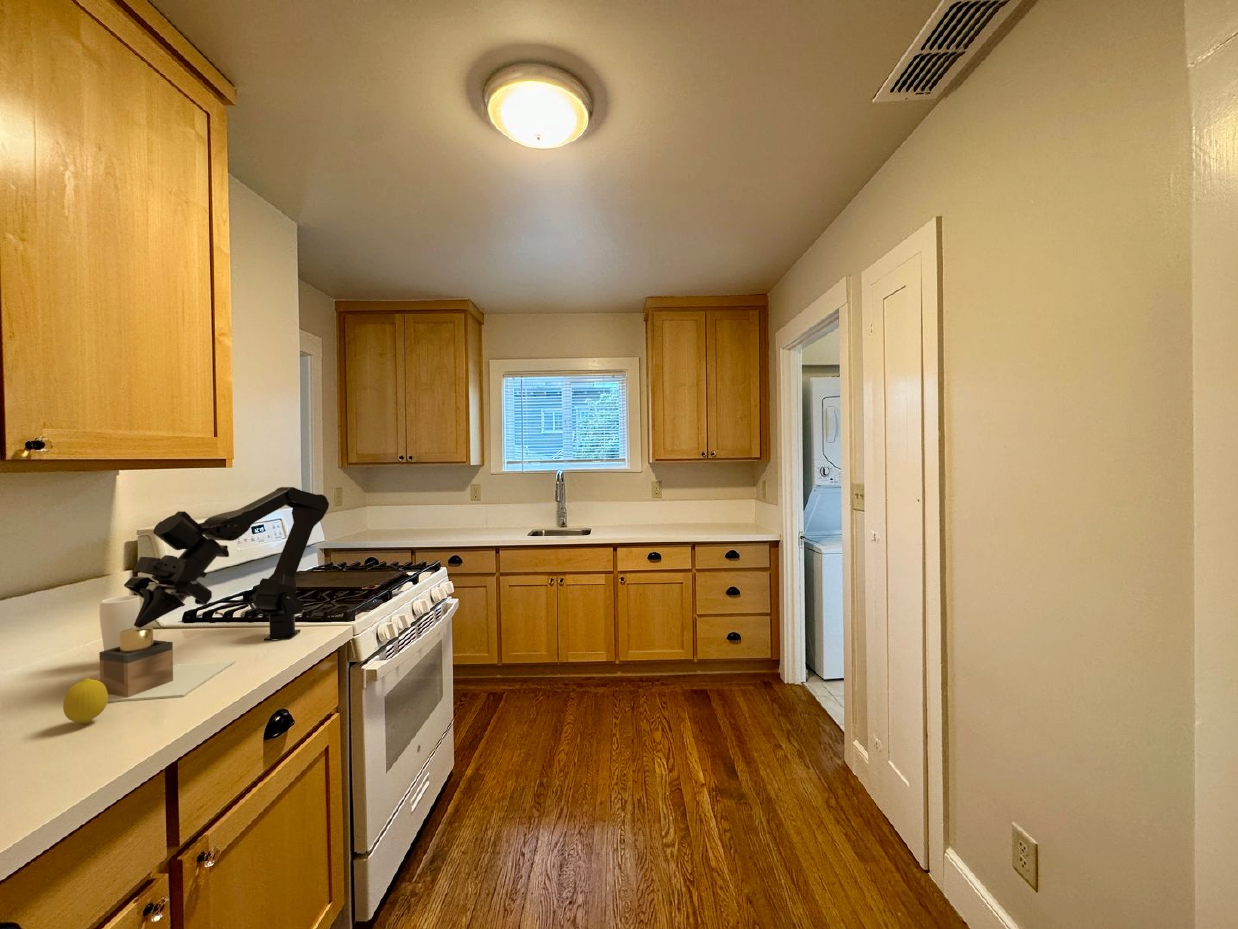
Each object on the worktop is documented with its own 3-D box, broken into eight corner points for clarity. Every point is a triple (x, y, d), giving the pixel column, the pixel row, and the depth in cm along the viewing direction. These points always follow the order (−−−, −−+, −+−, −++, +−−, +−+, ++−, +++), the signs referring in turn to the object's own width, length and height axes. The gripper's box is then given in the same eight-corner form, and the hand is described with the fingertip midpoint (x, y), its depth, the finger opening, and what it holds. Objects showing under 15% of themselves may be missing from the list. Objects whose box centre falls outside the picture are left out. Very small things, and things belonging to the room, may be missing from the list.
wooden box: (146, 678, 112) (145, 639, 112) (173, 682, 110) (172, 642, 110) (100, 694, 104) (99, 652, 104) (128, 699, 102) (127, 655, 102)
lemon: (56, 734, 89) (55, 687, 89) (74, 720, 94) (73, 675, 94) (99, 727, 91) (98, 681, 91) (114, 714, 96) (113, 670, 96)
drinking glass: (95, 666, 119) (94, 600, 119) (133, 656, 125) (132, 594, 125) (108, 671, 116) (106, 604, 116) (146, 661, 122) (145, 597, 122)
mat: (147, 668, 118) (147, 666, 118) (235, 662, 121) (235, 660, 121) (78, 704, 100) (78, 702, 100) (183, 696, 103) (183, 694, 103)
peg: (142, 661, 110) (142, 625, 110) (159, 663, 109) (159, 627, 109) (114, 670, 105) (113, 632, 105) (131, 672, 104) (130, 634, 104)
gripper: (133, 539, 115) (69, 603, 104) (196, 542, 110) (136, 609, 99) (173, 568, 122) (118, 630, 112) (234, 572, 117) (181, 637, 107)
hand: (136, 626), depth 107 cm, fingers closed
